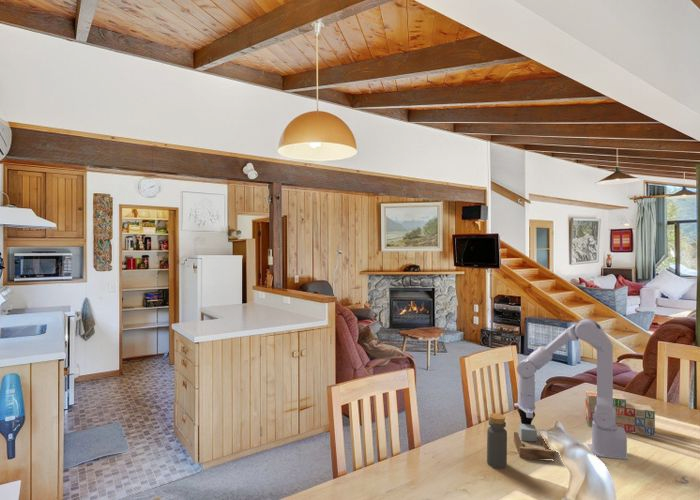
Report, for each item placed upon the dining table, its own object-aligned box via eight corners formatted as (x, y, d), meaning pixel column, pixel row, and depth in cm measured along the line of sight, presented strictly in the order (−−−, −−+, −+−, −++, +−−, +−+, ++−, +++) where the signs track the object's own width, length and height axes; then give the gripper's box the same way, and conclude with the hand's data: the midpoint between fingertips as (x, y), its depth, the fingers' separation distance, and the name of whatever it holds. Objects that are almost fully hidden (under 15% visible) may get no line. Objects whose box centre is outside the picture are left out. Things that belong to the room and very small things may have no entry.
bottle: (497, 470, 126) (497, 421, 126) (482, 461, 131) (483, 414, 131) (510, 466, 129) (511, 417, 129) (496, 457, 134) (496, 411, 134)
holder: (545, 444, 144) (545, 434, 144) (554, 461, 132) (555, 451, 132) (513, 440, 146) (514, 431, 146) (519, 457, 134) (520, 447, 134)
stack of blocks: (649, 430, 157) (650, 397, 157) (655, 436, 151) (655, 403, 151) (585, 420, 165) (585, 389, 165) (587, 426, 159) (588, 394, 159)
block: (533, 435, 150) (534, 424, 150) (536, 442, 146) (536, 430, 146) (519, 434, 152) (519, 423, 152) (521, 440, 147) (521, 429, 147)
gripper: (511, 385, 160) (511, 421, 160) (517, 398, 146) (517, 437, 146) (531, 387, 159) (530, 423, 159) (539, 400, 145) (539, 439, 145)
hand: (525, 430), depth 152 cm, fingers closed
